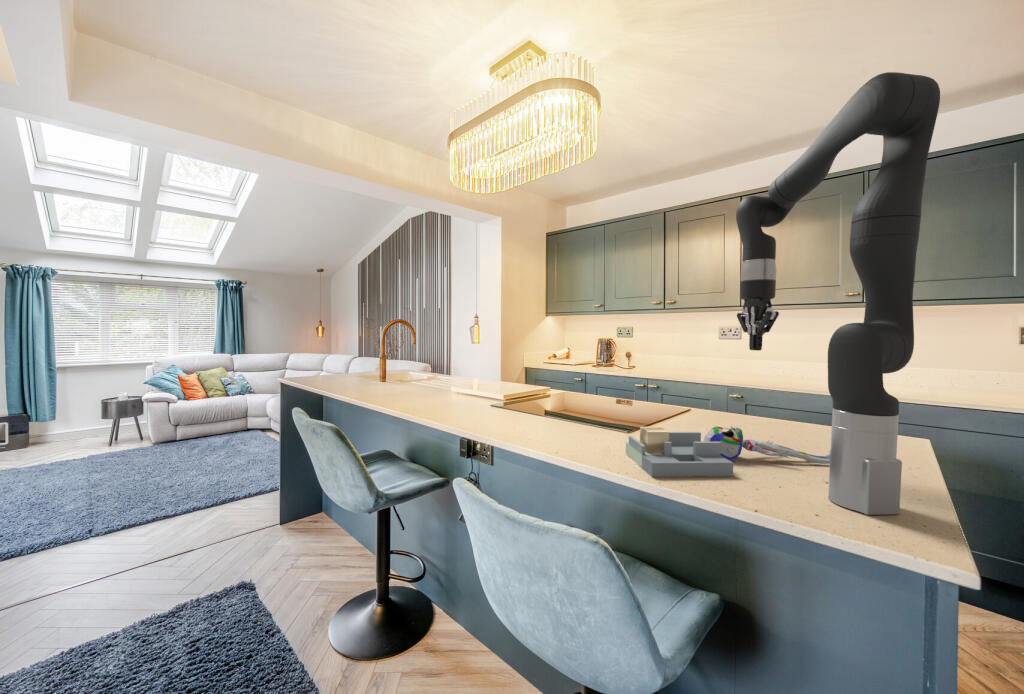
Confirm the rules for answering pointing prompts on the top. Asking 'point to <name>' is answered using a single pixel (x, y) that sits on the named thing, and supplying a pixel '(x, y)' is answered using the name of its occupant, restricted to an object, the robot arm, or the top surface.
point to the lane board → (681, 457)
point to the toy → (754, 446)
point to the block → (653, 438)
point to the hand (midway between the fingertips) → (755, 350)
